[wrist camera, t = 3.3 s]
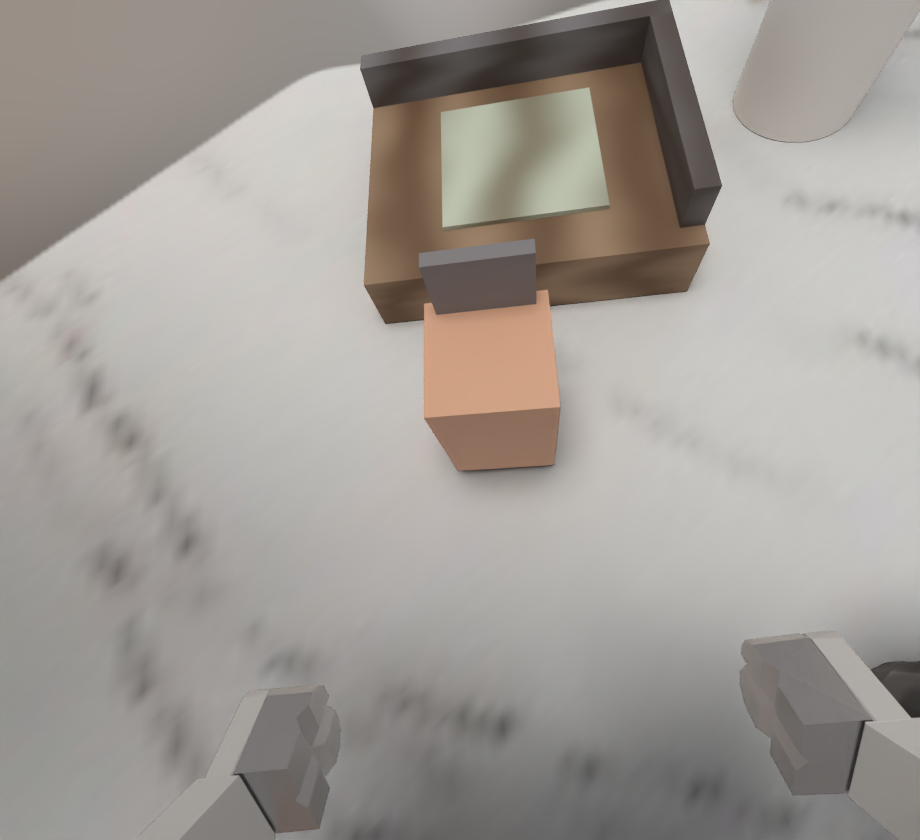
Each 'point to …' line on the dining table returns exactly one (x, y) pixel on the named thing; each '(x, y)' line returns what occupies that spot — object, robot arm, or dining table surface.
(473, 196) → the dock
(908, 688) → the beverage cup
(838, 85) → the cylindrical container
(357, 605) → the dining table surface
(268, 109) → the dining table surface
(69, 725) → the dining table surface
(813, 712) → the robot arm
